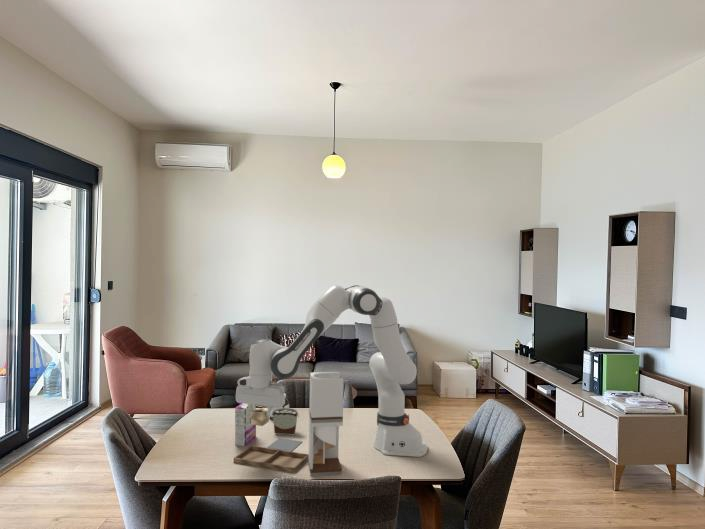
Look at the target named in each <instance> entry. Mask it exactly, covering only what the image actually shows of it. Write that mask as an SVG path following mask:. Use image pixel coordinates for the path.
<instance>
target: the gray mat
mask: <svg viewBox="0 0 705 529" xmlns="http://www.w3.org/2000/svg"><path fill="white" fill-rule="evenodd" d="M301 444H303V441H301V440H296V439H295V440H294V439H289V438H281V437H278V438H277V439H275V441H274V442H272V443H271V444H269V446H267V447H266V448H271V449H277V450H284V451H290V452H294V450H295V449H296V448H297V447H299V446H300V445H301Z"/></svg>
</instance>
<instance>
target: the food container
mask: <svg viewBox="0 0 705 529" xmlns="http://www.w3.org/2000/svg"><path fill="white" fill-rule="evenodd" d="M272 415H273V419H272V421H273V430H274V432H273V433H285V434H284V435H291V434H295V435H296V430H297V422H298V421H297V419H298V418H299V416H300V415H299V412H298V410H297V409H295V408H291V407H289V408H281V409H276V410H274V411H273V413H272Z"/></svg>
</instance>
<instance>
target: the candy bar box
mask: <svg viewBox="0 0 705 529" xmlns="http://www.w3.org/2000/svg"><path fill="white" fill-rule="evenodd" d="M253 409H254V410H255V409H257V405H253ZM234 413H235V415H234V419H235V421H234V422H235V423H234V424H235V425H234V426H235V428H234V430H235V433H234V435H235V437H234V438H235V439H234V440H235V443H234V445H235V446H241V447H245V446H247V445H248V444H250V443H251V442H252V441H253V440H254V439H255V438H256V437H257V425H251V415H250V410H249V408H248V404H245V403H239V405H237V406H236V407H235V412H234Z"/></svg>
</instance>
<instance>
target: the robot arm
mask: <svg viewBox="0 0 705 529" xmlns="http://www.w3.org/2000/svg"><path fill="white" fill-rule="evenodd" d="M346 310H352V311H353V312H355V313H357V314H360V315H365V316H369V319H370V325H371V330H372V334H373V335H372V336H373V341H374V344H375V346H376V347H377V348H378V350H379V352H378V351H377V352H375V353H373V354H372V355H371V357H370V359H369V362H368V364H369V369H370V370H371V372H372V374H373V377H374V379H375V380H374V381H375V383H376V389H377V394H378V396H377V397H378V409H377V410H378V411H377V414H376V425H377V428H376V429H377V430H376V437H375V440H374V444H373V447H374V448H375V449H376V450H377V451H380V452H381V453H382V454H383V455H384V456H385V455H386V456H402V457H412V458H415V457H416V458H421V457H424V456H425V455H426V454H427V452H428V449H429V448H428V444H427V443H426V442H424V441H423V438H422V434H421V432H420V430H418V429H417V428H416V427H414V426H413V425H412V424H411V423H410V414H407V413H405V403H406V402H405V398H406V396H405V393H404V391H403V389H402V388H401V385H408V384H411V383H413V381H415V379H416V376H417V372H418V369H417V366H416V364H415V363H414V362H413V361H412V359H411V358H410V357H409V355H408V352H407V351H406V349H405V348H406V347H405V346H404V344H403V341H402V338H401V334H400V328H399V323H398V318H397V313H396V310H395V307H394V305H393V302H392V300H390V299H389V298H387V297H380V296H379V295H378V294H377V292H376V291H374V290H373V289H371V288H369V287H367V286H364V285H352V286H349V287H347V288H344V287H343V286H341V285H333V286H331V287H329V288H328V289H327V290H325V292H323V293H322V294H321V295H320V297H318V298H317V300H316V301H315V302H314V303H313V304H312V306H311V307H310V309H309V310H308V312H307V314H306V319H305V323H304V326H303V329H301V332H300V333H299V334H298V335H297V337H296V338H294V340H293V342H292V343H291V344H290V345H289V346H286V345H285V346H284V345H281V344H278V343H276V342H274V341H272V339H270V338H261V339H258V340H255V341H253V342H252V343H251V345H250V349H249V359H248V360H249V361H248V362H249V372H248V373H249V374H248V375H246V376H244V377H241V378H239V379H238V380H237V386H236V389H235V401H236V402H237V404H242V403H245V404H248V408H249V410H250V415H251V412H252V411H253V410H254V409H253V405H256V406H264V407H266V409H268V411H267V412H265V417H269V418H271V417H270V412H271V410H272V408H273V407H278V408H280V407H282V406H283V405H284V404H285V398H286V397H285V394H286V392H285V390H286V389H285V388H286V387H285V385H284V384H283V383H282V382H280V381H279V382H276V381H273V375H274V376H275V377H277V378H278V379H282V380H287V379H290V378H291V377H293V376H295V374H296V373H297V371H298V369H299V366H300V362H301V360H302V359H303V357H304V355H306V353H307V352H308V351H309V350H310V348H311V347H312V346H313V345H314V343H315V342H316V341H317V339H318V338H320V337H321V335H322V334H323V333H325V331H327V330H328V329H329V328H330V327H331V325H333V324H334V323H335V322H336V321H337V319H338V318H339V317H340V316H341V315H342V313H344V312H345V311H346ZM284 393H285V394H284Z"/></svg>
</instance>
